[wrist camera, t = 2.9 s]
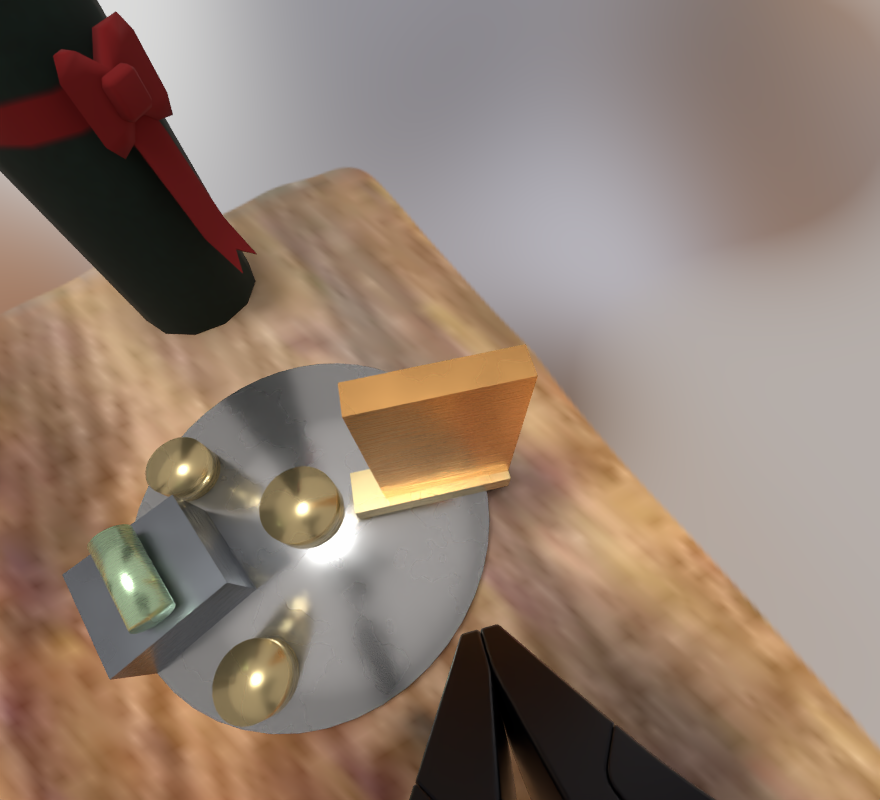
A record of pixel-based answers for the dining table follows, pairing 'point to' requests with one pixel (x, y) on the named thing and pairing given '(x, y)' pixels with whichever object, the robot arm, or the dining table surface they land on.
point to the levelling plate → (276, 570)
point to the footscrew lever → (412, 443)
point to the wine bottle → (113, 164)
